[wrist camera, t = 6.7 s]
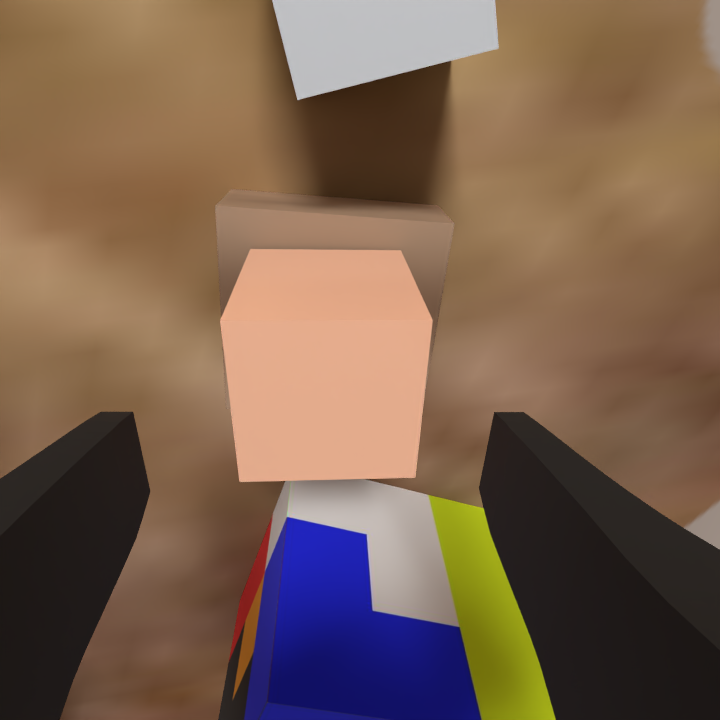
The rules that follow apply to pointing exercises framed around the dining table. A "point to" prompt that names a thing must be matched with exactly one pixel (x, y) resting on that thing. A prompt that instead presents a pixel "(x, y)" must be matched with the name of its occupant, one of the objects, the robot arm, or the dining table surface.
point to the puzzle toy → (379, 614)
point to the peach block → (326, 365)
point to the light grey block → (378, 38)
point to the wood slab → (333, 236)
